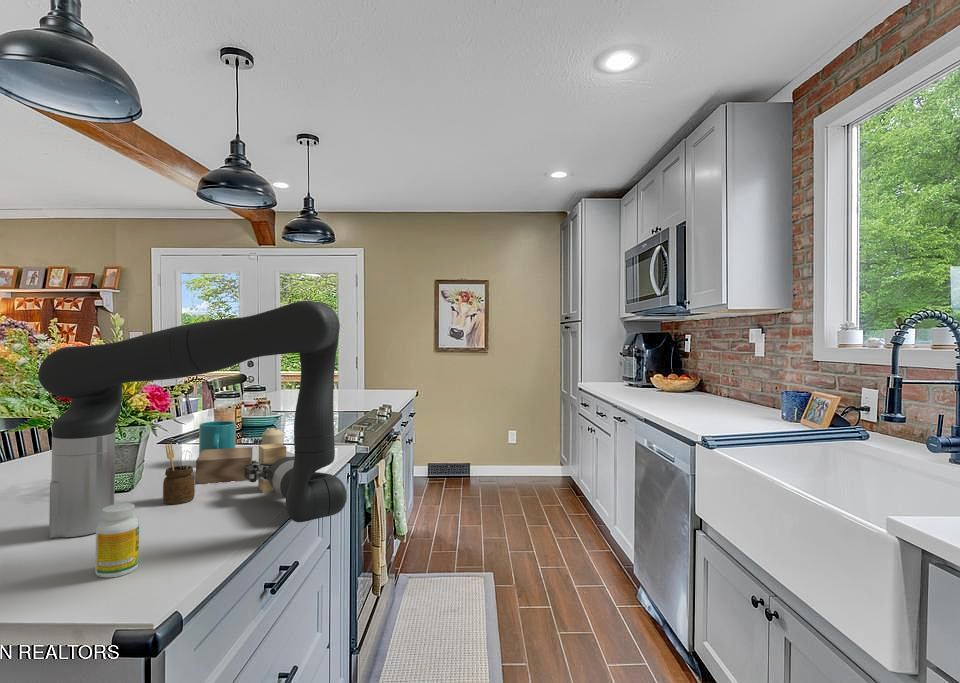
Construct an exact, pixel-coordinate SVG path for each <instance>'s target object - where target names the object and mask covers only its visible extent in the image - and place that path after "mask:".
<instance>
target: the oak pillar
mask: <svg viewBox="0 0 960 683" xmlns="http://www.w3.org/2000/svg"><path fill="white" fill-rule="evenodd" d="M286 451H287V446H286V445H285V444H284V443H283V444H281V443H277V444H267V445H262V444H259V445H258V463H259V464H261V463H264V462H269V463H274V462H276V461H277V460H279V459H281V458H283V457H286ZM267 467H269V466H267ZM259 472H260V468H259ZM257 481H258V483H257V488H258V489H259V490H260V491H261V492H262V493H263V494H266V493H272V492H277V491H276V490H275V489H274V488H273V487H272V486H271V485H270V483H269V481H268V480H267V479H261V478H257Z"/></svg>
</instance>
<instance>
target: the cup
mask: <svg viewBox="0 0 960 683" xmlns="http://www.w3.org/2000/svg"><path fill="white" fill-rule="evenodd" d="M236 426H237V424H236V422H235V421H231V420H218V421H207V422H201V423H200V424H199V428H198V429H199V432H198V436H199V437H198V456H199V455H200V453H201V452H202V450H210V449H227V448H236V428H237V427H236Z"/></svg>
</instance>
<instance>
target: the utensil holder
mask: <svg viewBox="0 0 960 683" xmlns="http://www.w3.org/2000/svg"><path fill="white" fill-rule="evenodd" d="M165 450H166V451H165V453H166V457H167V459H168V460H169V461H170V467H168V468H166V470H165V471H164V472H165V473H164V475H165V477H164V478H163V482H162V484H163V485H162V499H163V502H164V504H166V505H180V504H186V503H188V502H189V503H190V502H192V501H193V500H194V498H195V494H196V493H195V492H196V489H195V488H196V477H195V476H194V474H193V473H194V468H193V466H191V465H190V464H191V462H192V461H191V459H192V458H193V455H192V453H191V451H190V450H189V449H188V450H187V449H186V450H183V451H181V453H180V454H179V457H178V458H179V462H182V458H181V457H183V454H184V453H188V455H189V460H188V461H189V462H188V463H187V465H185V464H186V461H184V462H183V463H184V464H183V465H174V461H173V459H174V458H175V453H174V452H175V451H174V448H173V444H172V443H171V442H170V444H169V443H167V444H165ZM186 457H187V454H185V457H184V459H186Z"/></svg>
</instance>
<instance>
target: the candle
mask: <svg viewBox="0 0 960 683" xmlns="http://www.w3.org/2000/svg"><path fill="white" fill-rule="evenodd" d="M277 443H281V444H283V445H284V432H283V431H282V430H280V428H279V427H271V428H266V430H264V432H262V434H261V445H267V444H277Z"/></svg>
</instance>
